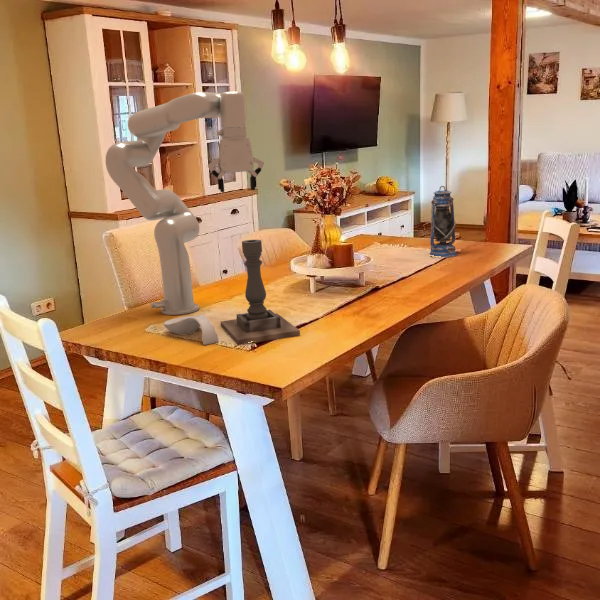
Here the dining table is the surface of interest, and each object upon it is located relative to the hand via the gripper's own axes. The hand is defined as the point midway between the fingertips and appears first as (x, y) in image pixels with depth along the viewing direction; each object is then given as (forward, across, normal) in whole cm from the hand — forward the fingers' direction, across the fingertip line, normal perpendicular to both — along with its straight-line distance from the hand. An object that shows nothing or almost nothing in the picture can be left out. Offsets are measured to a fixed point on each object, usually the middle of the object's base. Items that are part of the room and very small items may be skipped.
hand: (237, 190), depth 213 cm
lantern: (+39, +100, +56) cm, 121 cm away
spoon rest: (+40, -19, -17) cm, 48 cm away
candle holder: (+38, 0, -22) cm, 43 cm away
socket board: (+39, 0, -22) cm, 45 cm away
